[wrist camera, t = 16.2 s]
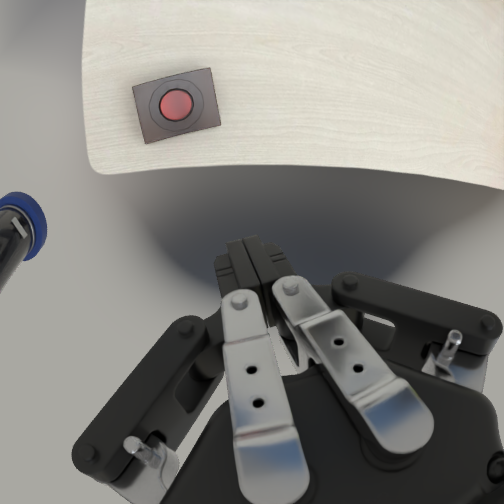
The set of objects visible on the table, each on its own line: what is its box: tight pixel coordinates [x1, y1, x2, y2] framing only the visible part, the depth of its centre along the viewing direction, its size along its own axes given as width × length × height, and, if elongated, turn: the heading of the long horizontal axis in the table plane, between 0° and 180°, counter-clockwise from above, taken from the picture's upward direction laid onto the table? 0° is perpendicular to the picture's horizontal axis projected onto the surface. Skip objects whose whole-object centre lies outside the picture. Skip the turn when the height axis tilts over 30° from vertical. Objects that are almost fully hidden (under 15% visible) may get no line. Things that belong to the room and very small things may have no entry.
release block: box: [132, 68, 221, 144], centre depth 32 cm, size 10×8×4 cm
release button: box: [161, 90, 192, 120], centre depth 30 cm, size 4×4×2 cm
